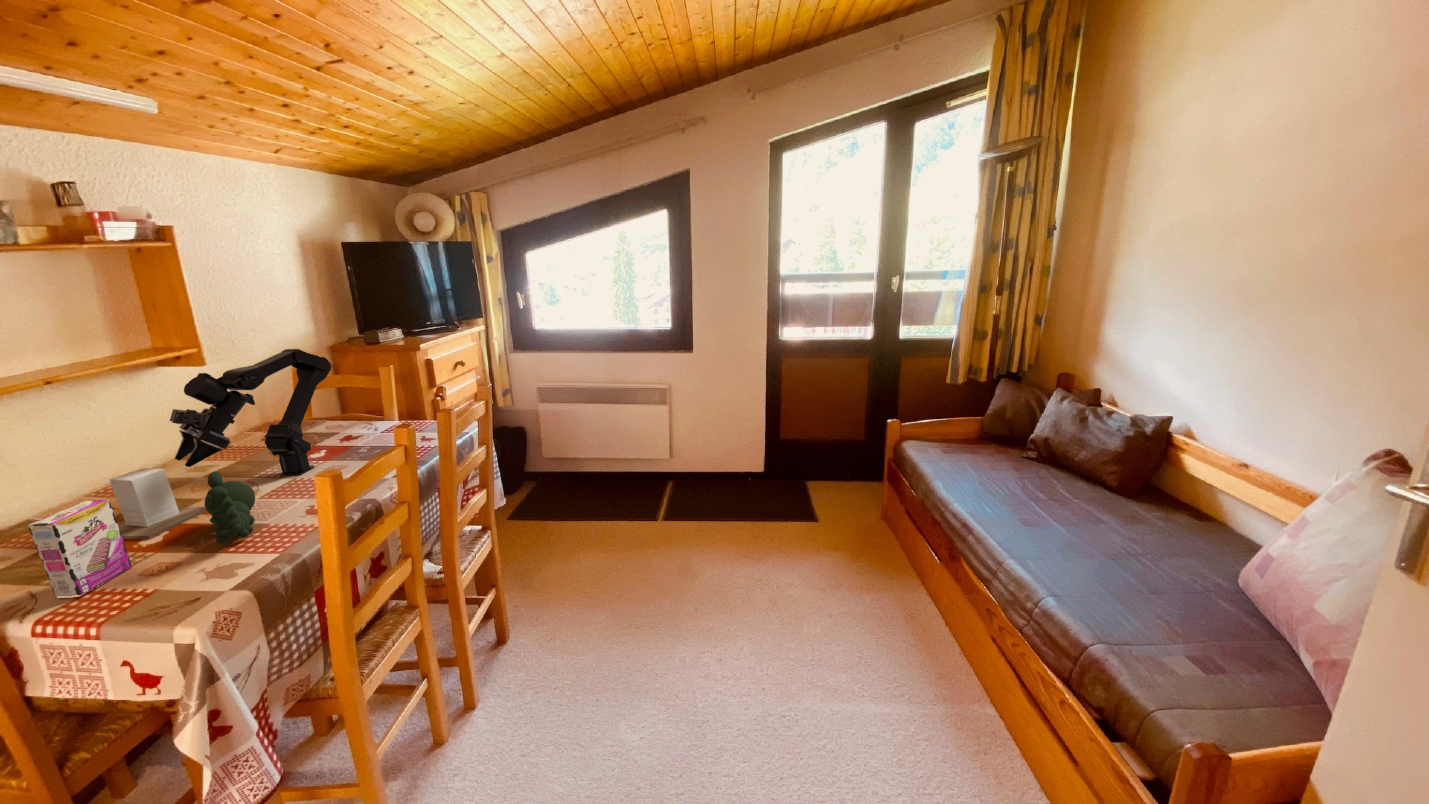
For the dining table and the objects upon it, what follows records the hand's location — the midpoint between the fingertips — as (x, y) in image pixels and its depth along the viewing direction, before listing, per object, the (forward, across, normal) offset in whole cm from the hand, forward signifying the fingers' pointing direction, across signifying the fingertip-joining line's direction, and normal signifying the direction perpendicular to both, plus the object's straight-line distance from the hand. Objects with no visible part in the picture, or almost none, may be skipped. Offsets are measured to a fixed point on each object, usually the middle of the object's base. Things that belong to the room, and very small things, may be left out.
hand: (181, 462), depth 142 cm
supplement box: (+15, +1, +3) cm, 15 cm away
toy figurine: (+8, +25, +11) cm, 29 cm away
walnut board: (+16, +1, +3) cm, 16 cm away
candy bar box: (+25, +27, -6) cm, 38 cm away
